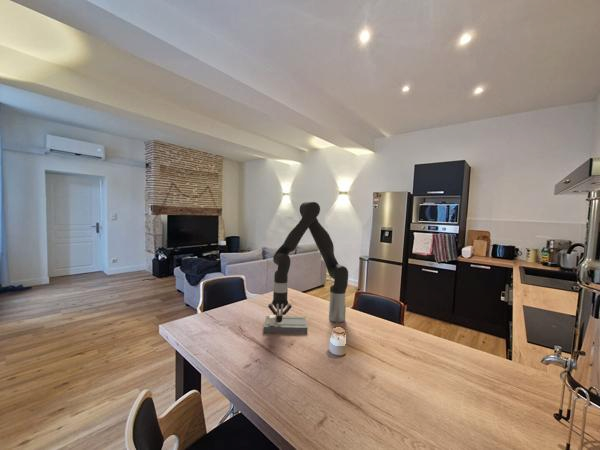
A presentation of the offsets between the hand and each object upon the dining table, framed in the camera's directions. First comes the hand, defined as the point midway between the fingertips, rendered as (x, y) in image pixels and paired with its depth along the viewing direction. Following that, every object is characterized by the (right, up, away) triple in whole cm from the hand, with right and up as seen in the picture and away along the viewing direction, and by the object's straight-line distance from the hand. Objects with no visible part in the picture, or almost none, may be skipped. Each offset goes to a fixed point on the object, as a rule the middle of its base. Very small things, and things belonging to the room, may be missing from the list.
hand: (279, 321), depth 134 cm
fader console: (+3, -4, +4) cm, 7 cm away
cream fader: (-4, -1, 0) cm, 4 cm away
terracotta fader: (-2, -1, +8) cm, 8 cm away
